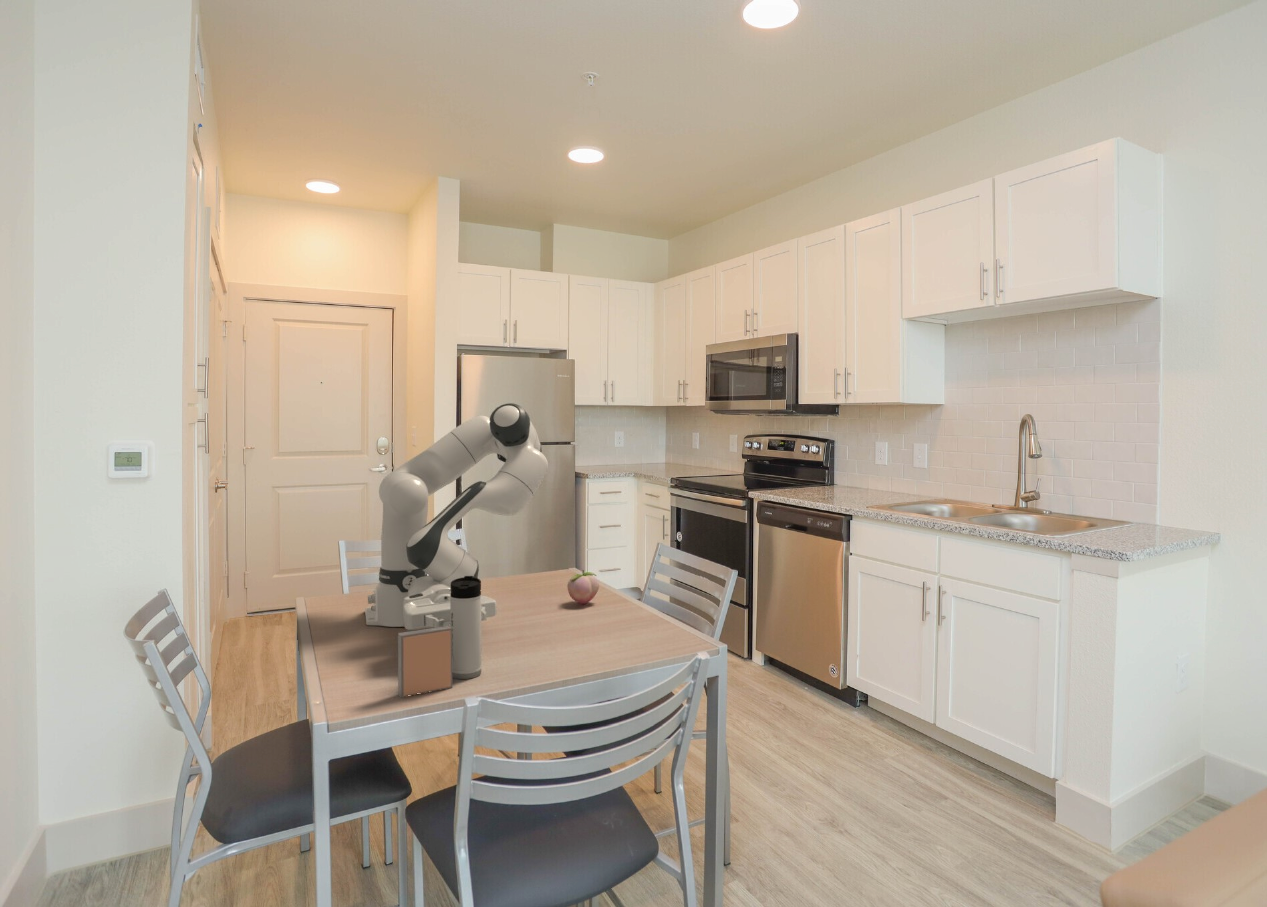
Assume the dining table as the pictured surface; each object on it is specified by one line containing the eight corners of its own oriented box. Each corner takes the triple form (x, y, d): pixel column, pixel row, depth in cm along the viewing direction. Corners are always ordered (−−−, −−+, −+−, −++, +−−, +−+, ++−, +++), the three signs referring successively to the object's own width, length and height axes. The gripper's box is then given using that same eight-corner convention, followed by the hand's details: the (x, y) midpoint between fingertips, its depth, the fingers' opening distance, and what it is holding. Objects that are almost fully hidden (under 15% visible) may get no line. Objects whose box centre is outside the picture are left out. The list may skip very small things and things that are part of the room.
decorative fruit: (582, 598, 214) (583, 565, 213) (603, 603, 209) (603, 569, 208) (560, 605, 207) (560, 570, 206) (581, 610, 201) (581, 574, 201)
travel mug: (483, 668, 154) (483, 575, 153) (478, 679, 147) (478, 582, 146) (454, 668, 154) (454, 575, 153) (447, 679, 147) (447, 582, 146)
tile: (398, 694, 139) (398, 633, 138) (449, 684, 144) (448, 625, 144) (401, 698, 137) (401, 636, 137) (452, 688, 143) (452, 628, 142)
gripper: (485, 612, 171) (508, 627, 159) (397, 626, 160) (414, 643, 148) (484, 586, 170) (507, 598, 159) (396, 598, 159) (414, 613, 148)
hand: (462, 620), depth 153 cm, fingers open, 8 cm apart
